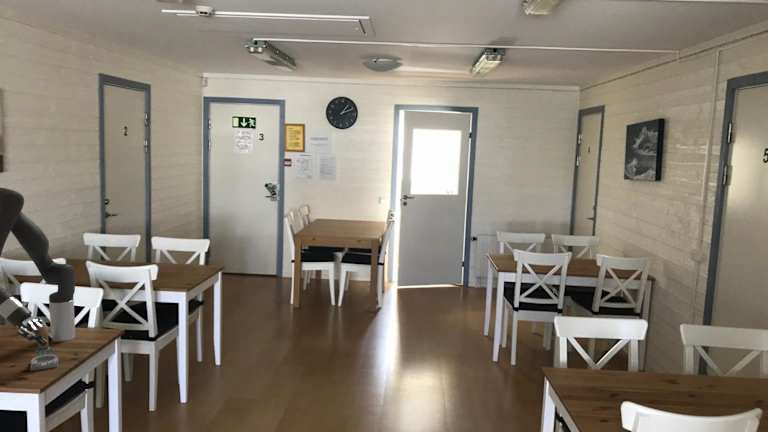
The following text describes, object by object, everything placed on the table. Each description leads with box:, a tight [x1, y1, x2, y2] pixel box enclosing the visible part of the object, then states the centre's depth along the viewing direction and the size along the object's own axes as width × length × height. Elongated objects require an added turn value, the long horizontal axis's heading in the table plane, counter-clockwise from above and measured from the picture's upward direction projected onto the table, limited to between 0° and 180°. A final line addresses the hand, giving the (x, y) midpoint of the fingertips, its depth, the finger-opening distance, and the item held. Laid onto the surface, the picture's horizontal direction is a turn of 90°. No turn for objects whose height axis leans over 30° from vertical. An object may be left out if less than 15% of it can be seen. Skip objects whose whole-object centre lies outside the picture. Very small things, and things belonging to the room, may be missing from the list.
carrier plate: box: [29, 354, 59, 372], centre depth 219 cm, size 9×9×2 cm
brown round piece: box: [34, 325, 53, 356], centre depth 218 cm, size 6×6×10 cm
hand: (48, 342), depth 218 cm, fingers closed on brown round piece, 3 cm apart
